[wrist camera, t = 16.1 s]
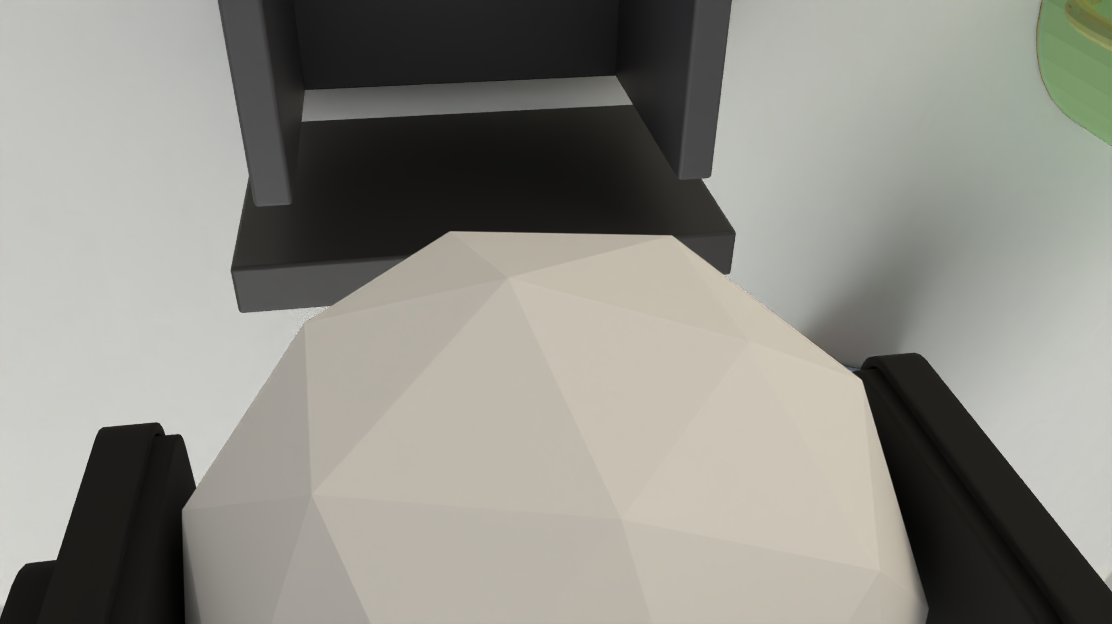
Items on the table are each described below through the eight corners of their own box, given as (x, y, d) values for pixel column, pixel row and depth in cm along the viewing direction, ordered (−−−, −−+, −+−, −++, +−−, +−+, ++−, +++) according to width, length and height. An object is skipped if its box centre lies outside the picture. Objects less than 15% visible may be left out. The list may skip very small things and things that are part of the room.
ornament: (313, 621, 15) (-191, 1047, 7) (461, 154, 14) (66, 45, 6) (755, 820, 14) (743, 1604, 6) (955, 325, 13) (1270, 467, 5)
